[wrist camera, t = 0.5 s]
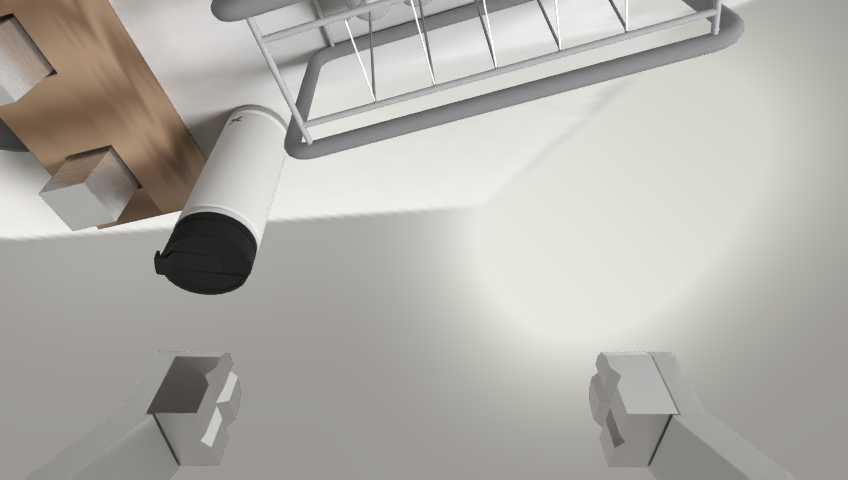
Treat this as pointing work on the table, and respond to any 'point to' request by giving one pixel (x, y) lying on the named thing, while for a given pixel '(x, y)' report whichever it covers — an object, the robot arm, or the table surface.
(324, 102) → the table surface
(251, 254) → the travel mug
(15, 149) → the usb drive
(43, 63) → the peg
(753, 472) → the robot arm
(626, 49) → the table surface
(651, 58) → the newton's cradle
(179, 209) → the walnut block
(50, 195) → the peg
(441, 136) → the table surface
